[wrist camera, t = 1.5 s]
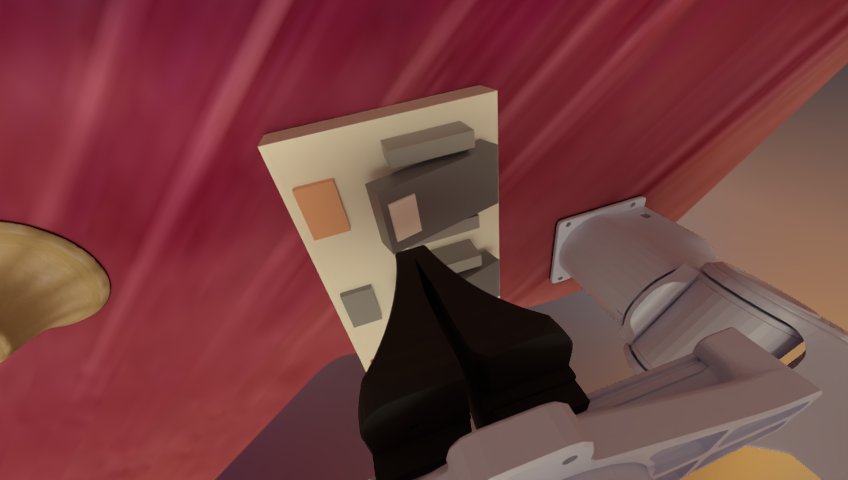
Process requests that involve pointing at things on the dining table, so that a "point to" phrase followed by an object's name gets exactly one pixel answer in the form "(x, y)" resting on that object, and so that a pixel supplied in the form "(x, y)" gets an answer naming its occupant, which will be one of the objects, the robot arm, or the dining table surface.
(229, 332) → the dining table surface
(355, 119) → the switch panel
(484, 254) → the rocker middle
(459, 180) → the rocker
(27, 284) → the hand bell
